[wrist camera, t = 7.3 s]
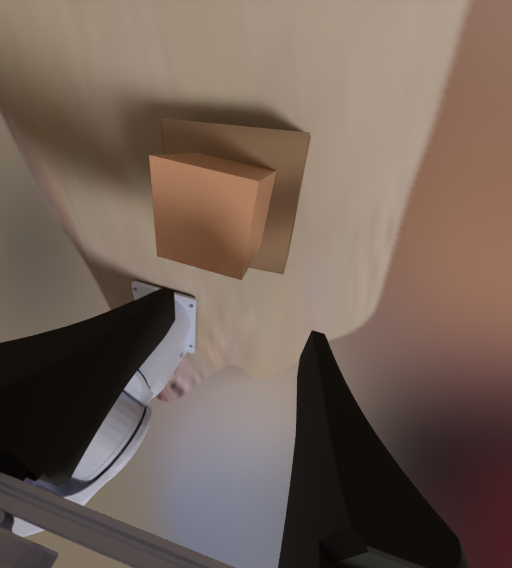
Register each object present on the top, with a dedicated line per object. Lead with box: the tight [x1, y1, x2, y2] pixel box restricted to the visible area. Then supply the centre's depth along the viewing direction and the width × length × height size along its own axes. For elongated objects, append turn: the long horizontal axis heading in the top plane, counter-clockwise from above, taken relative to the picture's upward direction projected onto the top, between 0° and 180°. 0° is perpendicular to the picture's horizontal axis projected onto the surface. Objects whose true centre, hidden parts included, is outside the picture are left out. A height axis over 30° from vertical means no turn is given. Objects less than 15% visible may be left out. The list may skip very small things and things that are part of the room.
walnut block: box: [161, 118, 311, 274], centre depth 17 cm, size 9×9×4 cm
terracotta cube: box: [149, 153, 276, 280], centre depth 13 cm, size 5×5×5 cm
